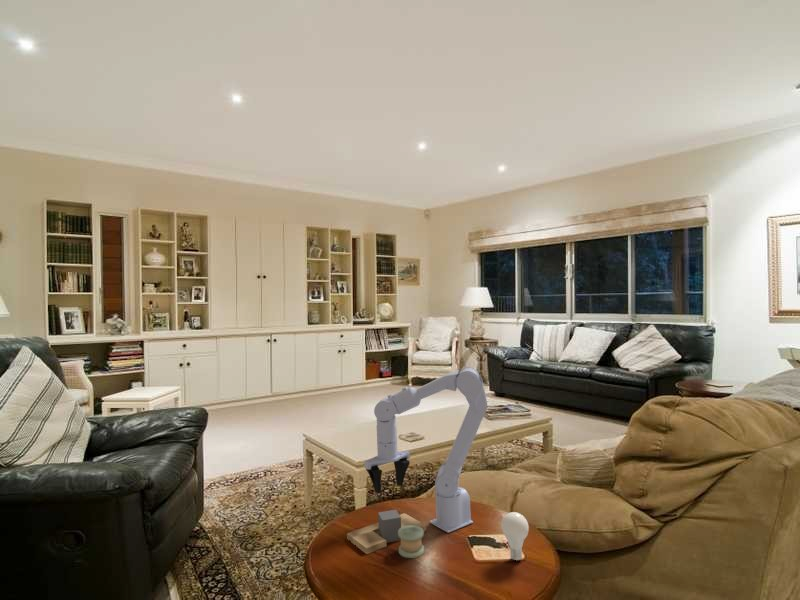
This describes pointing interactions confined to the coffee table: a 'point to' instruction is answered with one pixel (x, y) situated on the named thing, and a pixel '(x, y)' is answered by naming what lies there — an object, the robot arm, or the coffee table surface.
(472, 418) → the robot arm
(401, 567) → the coffee table surface
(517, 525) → the lightbulb
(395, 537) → the block
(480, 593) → the coffee table surface
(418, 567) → the coffee table surface
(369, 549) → the notched board
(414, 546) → the bobbin
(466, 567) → the coffee table surface
